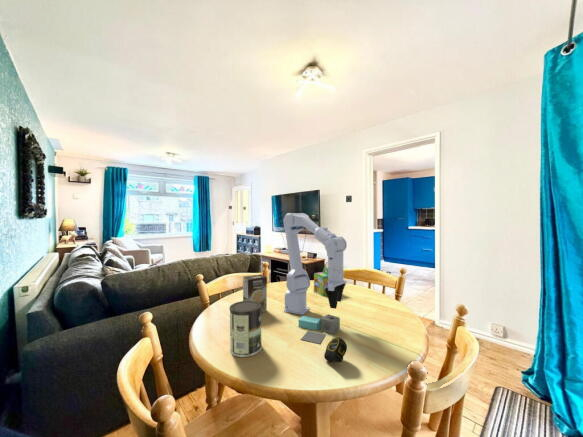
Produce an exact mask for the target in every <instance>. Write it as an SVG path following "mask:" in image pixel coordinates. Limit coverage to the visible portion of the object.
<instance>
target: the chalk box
mask: <svg viewBox="0 0 583 437" xmlns="http://www.w3.org/2000/svg"><path fill="white" fill-rule="evenodd" d="M325 288H328V267H323V270H322V272H314V273H313V293H315V294H317V295H320V296H322V297H327V294H326V293H325Z"/></svg>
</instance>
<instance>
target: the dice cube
mask: <svg viewBox="0 0 583 437" xmlns="http://www.w3.org/2000/svg"><path fill="white" fill-rule="evenodd" d="M320 319H321V327H320V329H321V332H325V333H327V334H330V335H335V334H336V333H338V332H339V331H340V328H341V324H340V323H341V322H340V321H341V319H340V317H338V316H335V315H333V314H330V313H329V314H326V315H324V316H322V317H321V318H320Z"/></svg>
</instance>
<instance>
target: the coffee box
mask: <svg viewBox="0 0 583 437" xmlns="http://www.w3.org/2000/svg"><path fill="white" fill-rule="evenodd" d="M242 279H243V282H242V286H243V287H242V297H243V298H242V301H256V302H259V303H261V313H264V312H267V305H268V304H267V303H268V300H267V298H268V297H267V296H268V295H267V294H268V293H267V290H268V287H267V285H268V283H267V282H268V280H267V279H268V277H267V276H266V275H263V274H254V275H253V274H252V275H245V276H242Z"/></svg>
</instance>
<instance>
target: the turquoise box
mask: <svg viewBox="0 0 583 437" xmlns="http://www.w3.org/2000/svg"><path fill="white" fill-rule="evenodd" d="M298 328H304V329H307V330H308V329H309V330H312V331H313V330H314V331H317V332H318V331H319V330H320V329H321V318H317V317H314V316H313V317H312V316H306V315H302V316H301V317H300V318H299V319H298Z"/></svg>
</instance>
